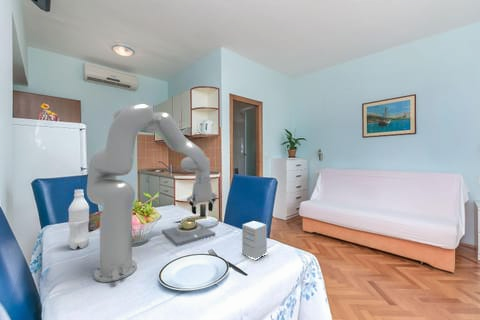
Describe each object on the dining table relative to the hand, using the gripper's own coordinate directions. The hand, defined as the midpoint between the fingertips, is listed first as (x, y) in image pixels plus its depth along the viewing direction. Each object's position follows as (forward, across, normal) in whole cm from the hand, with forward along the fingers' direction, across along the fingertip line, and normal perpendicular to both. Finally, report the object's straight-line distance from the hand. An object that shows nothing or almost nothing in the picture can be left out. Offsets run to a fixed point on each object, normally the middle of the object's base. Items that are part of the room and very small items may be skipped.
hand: (202, 212), depth 110 cm
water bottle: (+10, +52, -15) cm, 55 cm away
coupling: (+8, +6, 0) cm, 10 cm away
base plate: (+10, +8, 0) cm, 13 cm away
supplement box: (+10, -4, +37) cm, 39 cm away
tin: (+10, +44, -40) cm, 60 cm away
